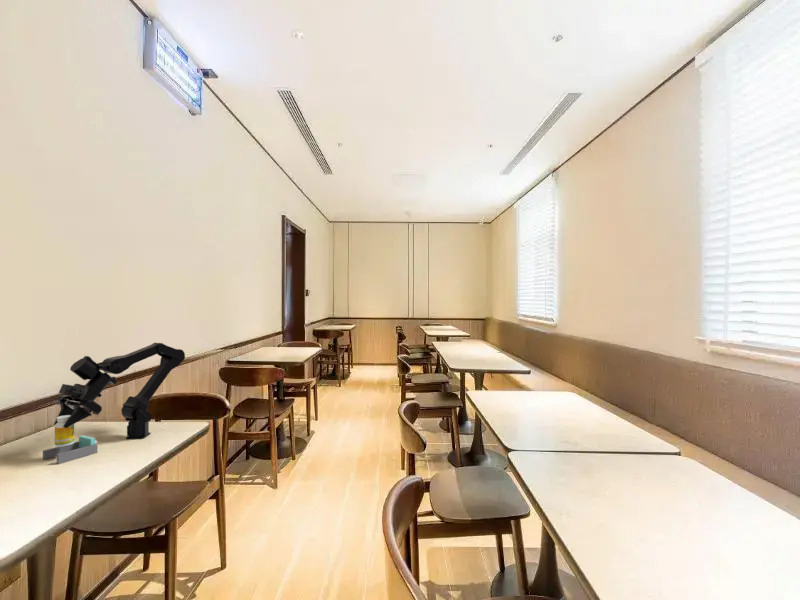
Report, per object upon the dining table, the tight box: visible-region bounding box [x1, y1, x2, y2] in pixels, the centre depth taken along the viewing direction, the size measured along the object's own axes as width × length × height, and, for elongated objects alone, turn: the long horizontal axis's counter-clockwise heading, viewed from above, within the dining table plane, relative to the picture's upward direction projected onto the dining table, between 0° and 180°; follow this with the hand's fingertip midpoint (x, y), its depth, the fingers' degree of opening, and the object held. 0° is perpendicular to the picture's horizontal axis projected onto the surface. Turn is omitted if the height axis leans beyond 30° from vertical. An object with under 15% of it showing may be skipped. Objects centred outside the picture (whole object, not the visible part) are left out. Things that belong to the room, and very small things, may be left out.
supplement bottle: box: [54, 415, 75, 447], centre depth 150 cm, size 5×5×10 cm
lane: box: [42, 435, 98, 465], centre depth 153 cm, size 14×10×5 cm
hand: (59, 426), depth 149 cm, fingers closed on supplement bottle, 5 cm apart
